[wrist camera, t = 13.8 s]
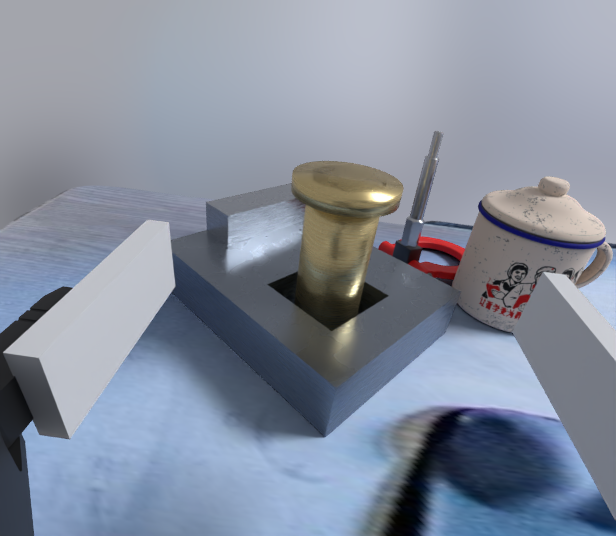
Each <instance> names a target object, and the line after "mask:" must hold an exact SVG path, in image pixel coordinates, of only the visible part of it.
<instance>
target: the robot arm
mask: <svg viewBox="0 0 616 536" xmlns="http://www.w3.org/2000/svg"><path fill="white" fill-rule="evenodd" d="M174 288H175V278H174V268H173V259H172V249H171V239H170V230H169V222H161V221H154V220H147V221H146V222H144V223H143V224H142V225H141V226H140V227H139V228H138V229H137V230H136V231H135V232H134V233H132V234H131V235H130V236H129V237H128V238H127V239H126V240H125V241H124V242H123V243H122V244H121V245H119V246H118V247H117V248H116V249H115V250H114V251H113V252H112V253H111V254H110V255H109V256H107V257H106V258H105V259H104V260H103V261H102V262H101V263H100V264H99V265H98V266H97V267H95V268H94V269H93V270H92V271H91V272H90V273H89V274H88V275H87V276H86V277H85V278H84V279H82V280H81V281H80V282H79V283H78V284H77V285H76V286H75V287H74V288H70V287H61V288H59V289H57V290H55V291H53V292H51V293H49V294H47V295H45V296H44V297H42V298H41V299H40V300H39V301H38V302H37V303H35V304H34V305H33V306H32V307H31V308H30V311H29V310H27V311H26V312H25V313H24V314H23V315H21V316H20V317H19V320H18V321H14V322H13V323H12V324H11V325H10V326H9V327H7V328H6V329H5V330H4V331H3V332H2V333H0V536H34V529H33V519H32V509H31V499H30V488H29V478H28V468H27V458H26V448H25V441H24V438H23V436H22V434H21V433H22V432H23V431H24V429H25V428H26V427H27V426H28V425H29V423H30V422H31V421H32V420H33V422H34V424H35V426H36V428H37V431H38V433H39V435H44V436H51V437H58V438H65V439H70V438H71V437H72V436H73V434H74V433H75V431H76V430H77V428H78V427H79V425H80V424H81V422H82V421H83V420H84V418H85V417H86V415H87V414H88V412H89V411H90V409H91V408H92V407H93V405H94V404H95V402H96V401H97V399H98V398H99V396H100V395H101V393H102V392H103V391H104V389H105V388H106V386H107V385H108V383H109V382H110V380H111V379H112V378H113V376H114V375H115V373H116V372H117V370H118V369H119V367H120V366H121V364H122V363H123V362H124V360H125V359H126V357H127V356H128V354H129V353H130V351H131V350H132V349H133V347H134V346H135V344H136V343H137V341H138V340H139V338H140V337H141V335H142V334H143V333H144V331H145V330H146V328H147V327H148V325H149V324H150V322H151V321H152V320H153V318H154V317H155V315H156V314H157V312H158V311H159V309H160V308H161V306H162V305H163V304H164V302H165V301H166V299H167V298H168V296H169V295H170V293H171V292H172V291H173V289H174ZM513 334H514V336H515V338H516V340H517V342H518V343H519V345H520V347H521V349H522V351H523V353H524V354H525V356H526V358H527V360H528V362H529V364H530V365H531V367H532V369H533V371H534V373H535V374H536V376H537V378H538V380H539V382H540V384H541V385H542V387H543V389H544V391H545V393H546V395H547V396H548V398H549V400H550V402H551V404H552V406H553V407H554V409H555V411H556V413H557V415H558V416H559V418H560V420H561V422H562V424H563V426H564V427H565V429H566V431H567V433H568V435H569V437H570V438H571V440H572V442H573V444H574V446H575V448H576V449H577V451H578V453H579V455H580V457H581V459H582V460H583V462H584V464H585V466H586V468H587V469H588V471H589V473H590V475H591V477H592V479H593V480H594V482H595V484H596V486H597V488H598V490H599V491H600V493H601V495H602V497H603V499H604V501H605V502H606V504H607V506H608V508H609V510H610V511H611V513H612V515H613V517H614V519H615V520H616V330H615V329H614V328H613V327H612V326H611V325H610V324H609V323H608V322H607V320H606V319H605V318H604V317H603V316H602V315H601V314H600V313H599V312H598V310H597V309H596V308H595V307H594V306H593V305H592V304H591V303H590V302H589V300H588V299H587V298H586V297H585V296H584V295H583V294H582V293H581V292H580V290H579V289H578V288H577V287H576V286H575V285H574V284H573V283H572V282H571V280H570V279H569V278H568V277H567V276H566V275H564V274H556V273H549V272H543V273H542V275H541V277H540V278H539V280H538V282H537V284H536V286H535V288H534V290H533V292H532V294H531V296H530V298H529V300H528V302H527V304H526V306H525V308H524V310H523V312H522V314H521V316H520V318H519V320H518V322H517V324H516V326H515V328H514V330H513Z"/></svg>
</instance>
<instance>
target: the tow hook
mask: <svg viewBox="0 0 616 536" xmlns="http://www.w3.org/2000/svg"><path fill="white" fill-rule="evenodd" d="M442 137H443V132H439V131H435V132H434V135H433V139H432V143H431V146H430V150H429V154H428V156H425V160H424V164H423V168H422V171H421V175H420V179H419V183H418V187H417V190H416V194H415V198H414V202H413V206H412V210H411V214H410V216H409V217H408V218H407V220H406V224H405V228H404V232H403V237H402V239H401V240H398V241H396V243H395V244H390V243H389V242H387V241H384V242H382V243H381V244H380V246H379V250H381V251H383V252H385V253H387V254H389V255H391V256H393V257H395V258H397V259H399V260H401V261H402V262H404V263H406V264H408V265H410V266H412V267H414V268H416V269H418V270H420V271H422V272H424V273H426V274H428V275H430V276H432V277H434V278H436V277H437V278H441V279H450V280H454V277H455V275H456V272H457V269H458V267H459V265H458V266H443V265H438V264H433V263H430V262H422V263H419V258H420V255H421V251H422V248H431V249H436V250H440V251H443V252H446V253H448V254H450V255H452V256H454V257H456V258H457V259H458V260H460V261H461V259H462V256H463V253H464V251H465V249H464V248H462V247H460V246H458V245H455V244H453V243H450V242H447V241H443V240H440V239H435V238H430V237H420V235H421V232H422V228H423V225H424V220H423V216H424V212H425V209H426V205H427V201H428V198H429V194H430V191H431V187H432V184H433V180H434V176H435V173H436V169H437V165H438V162H439V158H437V156H438V152H439V149H440V145H441V141H442Z"/></svg>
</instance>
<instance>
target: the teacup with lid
mask: <svg viewBox="0 0 616 536" xmlns="http://www.w3.org/2000/svg"><path fill="white" fill-rule="evenodd" d="M569 188H570V185H569V183H568V182H567V181H565V180H563V179H560V178H556V177H544V178H542V179H541V180H540V183H539V185H538V187H524V188H520V189H516V190H501V191H494V192H491V193H489V194H487V195H486V196H485V197H484V198H483V199H482V200H481V201H480V202H479V205H478V208H479V214H478V216H477V219H476V221H475V224H474V227H473V229H472V232H471V235H470V237H469V240H468V243H467V245H466V248H465V251H464V253H463V256H462V259H461V261H460V264H459V267H458V269H457V272H456V275H455V277H454V280H453V283H452V287H453V288H455V289H457V290H459V291H461V294H460V296H459V299H458V301H457V303H458V304H459V306H460V307H461V308H462V309H463V310H465V311H466V312H467V313H468V314H470V315H471V316H472V317H474V318H476V319H477V320H479V321H481V322H483V323H485V324H487V325H489V326H491V327H494V328H497V329H500V330H503V331H507V332H511V333H513V330H514V328H515V326H516V324H517V322H518V320H519V318H520V316H521V314H522V312H523V310H524V308H525V306H526V304H527V302H528V300H529V298H530V296H531V294H532V292H533V290H534V288H535V286H536V284H537V282H538V280H539V278H540V277H541V275H542V273H543V272H549V273H556V274H564V275H566V276H567V277H568V278H569V279H570V280H571V282H572V283H573V284H574V285H575V286H576V287H577V288H581V287H583V286H586V285H588V284H589V283H591V282H593V281H594V280H595V279H597V278H598V277H599V276H600V275H601V274H602V273H603V272H604V271H605V270H606V269H607V267H608V266H609V264H610V262H611V260H612V256H613V253H612V249H611V247H610V246H609V245H608V244H607V243H606V242H605V235H606V230H605V226H604V225H603V223H602V222H601V221H600V220H599V219H598V218H596V217H595V216H594V215H592V214H591V213H589V212H587V211H585V210H584V209H583V208H582V207H581V205H580V204H579V203H578V202H577V201H576V200H575V199H574V198H572V197H570V196H569V195H567V194H566V193H567V192H568V190H569ZM596 248H597V255H596V257H595V259H594V261H593V262H592V263H591V264H590V265H589V266H588V267H587V268H586V269H585V270H584V268H585V266H586V264H587V263H588V261H589V259H590V258H591V256H592V254H593V252H594V251H595V249H596ZM583 270H584V271H583Z"/></svg>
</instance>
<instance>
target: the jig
mask: <svg viewBox="0 0 616 536" xmlns="http://www.w3.org/2000/svg"><path fill="white" fill-rule="evenodd" d="M291 185H292V183H290V184H286V185H281V186H277V187H273V188H268V189H263V190H259V191H254V192H250V193H245V194H241V195H236V196H232V197H227V198H223V199H218V200H214V201H209V202H206V216H207V230H206V231H202V232H199V233H195V234H192V235H188V236H184V237H181V238H177V239H173V240H171V249H172V259H173V268H174V278H175V288H174V289H173V291H172V292H173V293H174V294H175V295H176V296H177V297H178V298H179V299H180V300H181V301H182V302H183V303H184V304H185V305H186V306H187V307H188V308H189V309H191V310H192V311H193V312H194V313H195V314H196V315H197V316H198V317H199V318H200V319H201V320H202V321H203V322H204V323H205V324H206V325H207V326H208V327H210V328H211V329H212V330H213V331H214V332H215V333H216V334H217V335H218V336H219V337H220V338H221V339H222V340H223V341H224V342H225V343H226V344H227V345H229V346H230V347H231V348H232V349H233V350H234V351H235V352H236V353H237V354H238V355H239V356H240V357H241V358H242V359H243V360H244V361H245V362H246V363H248V364H249V365H250V366H251V367H252V368H253V369H254V370H255V371H256V372H257V373H258V374H259V375H260V376H261V377H262V378H263V379H264V380H265V381H267V382H268V383H269V384H270V385H271V386H272V387H273V388H274V389H275V390H276V391H277V392H278V393H279V394H280V395H281V396H282V397H283V398H284V399H286V400H287V401H288V402H289V403H290V404H291V405H292V406H293V407H294V408H295V409H296V410H297V411H298V412H299V413H300V414H301V415H302V416H303V417H304V418H306V419H307V420H308V421H309V422H310V423H311V424H312V425H313V426H314V427H315V428H316V429H317V430H318V431H319V432H320V433H321V434H322V435H323V436H325V437H326V436H327V435H328V434H330V433H331V432H332V431H333V430H334V429H335V428H336V427H338V426H339V425H340V424H341V423H342V422H343V421H344V420H346V419H347V418H348V417H349V416H350V415H351V414H352V413H354V412H355V411H356V410H357V409H358V408H359V407H360V406H362V405H363V404H364V403H365V402H366V401H367V400H369V399H370V398H371V397H372V396H373V395H374V394H375V393H377V392H378V391H379V390H380V389H381V388H382V387H383V386H385V385H386V384H387V383H388V382H389V381H390V380H391V379H393V378H394V377H395V376H396V375H397V374H398V373H399V372H401V371H402V370H403V369H404V368H405V367H406V366H407V365H409V364H410V363H411V362H412V361H413V360H414V359H416V358H417V357H418V356H419V355H420V354H421V353H422V352H424V351H425V350H426V349H427V348H428V347H429V346H430V345H432V344H433V343H434V342H435V341H436V340H437V339H438V338H440V337H441V336H442V335H443V334H444V333H445V332H446V329H447V326H448V324H449V321H450V319H451V316H452V314H453V311H454V309H455V306H456V304H457V301H458V299H459V296H460V294H461V291H459V290H457V289H455V288H453V287H451V286H449V285H447V284H445V283H444V282H442V281H440V280H438V279H436V278H434V277H432V276H430V275H428V274H426V273H424V272H422V271H420V270H418V269H416V268H414V267H412V266H410V265H408V264H406V263H404V262H402V261H401V260H399V259H397V258H395V257H393V256H391V255H389V254H387V253H385V252H383V251H381V250H379V249H377V248H375V247H373V248H372V252H371V256H370V261H369V265H368V269H367V274H366V278H365V282H364V287H363V291H362V296H361V300H360V304H359V309H358V313H357V316H356V317H354V318H353V319H351V320H349V321H348V322H346V323H344V324H343V325H341V326H340V327H338V328H336V329H335V330H333V331H331V330H329V329H328V328H326V327H325V326H324V325H322V324H321V323H320V322H318V321H317V320H315V319H314V318H313V317H311V316H310V315H308V314H307V313H306V312H304V311H303V310H302V309H300V308H299V307H297V306H296V305H295V304H294V301H295V293H296V284H297V275H298V267H299V258H300V249H301V241H302V232H303V223H304V215H305V206H306V205H305V204H303V203H302V202H300V201H299V200H297V199H296V198H295V197H294V195H293V194H292V192H291Z"/></svg>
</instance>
